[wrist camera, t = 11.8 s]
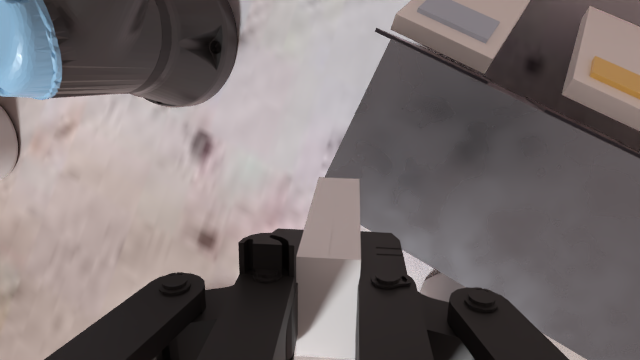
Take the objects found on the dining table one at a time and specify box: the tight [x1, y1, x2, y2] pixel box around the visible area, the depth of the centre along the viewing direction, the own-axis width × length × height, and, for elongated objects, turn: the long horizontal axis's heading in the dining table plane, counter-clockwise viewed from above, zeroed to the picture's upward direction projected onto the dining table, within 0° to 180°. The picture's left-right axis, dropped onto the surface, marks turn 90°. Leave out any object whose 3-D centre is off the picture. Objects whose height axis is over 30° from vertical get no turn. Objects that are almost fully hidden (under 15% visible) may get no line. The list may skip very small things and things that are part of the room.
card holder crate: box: [325, 28, 640, 360], centre depth 32 cm, size 10×27×20 cm, turn 65°
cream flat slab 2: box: [561, 6, 640, 131], centre depth 28 cm, size 1×6×16 cm, turn 65°
